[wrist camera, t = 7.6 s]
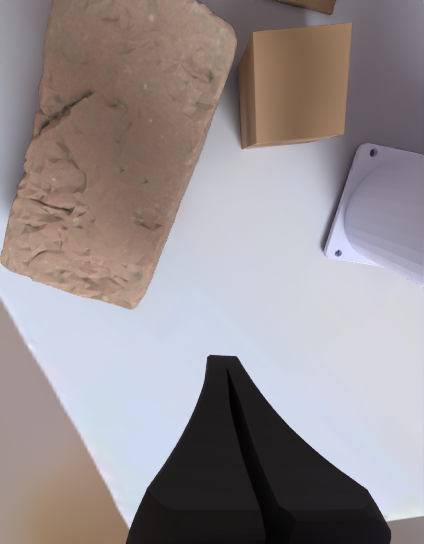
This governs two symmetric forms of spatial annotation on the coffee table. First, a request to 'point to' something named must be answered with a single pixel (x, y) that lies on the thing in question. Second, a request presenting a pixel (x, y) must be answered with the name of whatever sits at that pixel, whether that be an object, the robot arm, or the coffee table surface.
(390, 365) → the coffee table surface
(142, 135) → the brick
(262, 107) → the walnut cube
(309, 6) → the board
